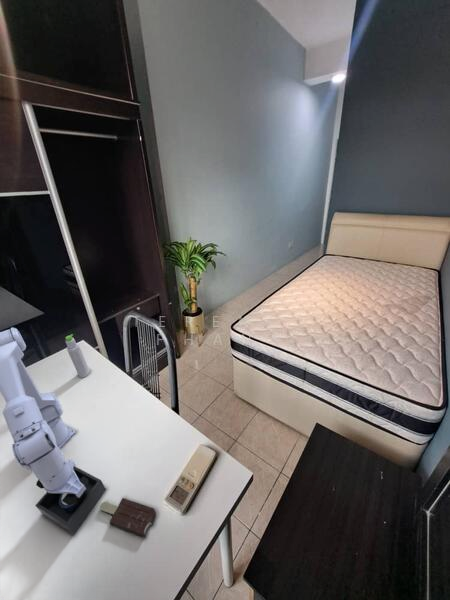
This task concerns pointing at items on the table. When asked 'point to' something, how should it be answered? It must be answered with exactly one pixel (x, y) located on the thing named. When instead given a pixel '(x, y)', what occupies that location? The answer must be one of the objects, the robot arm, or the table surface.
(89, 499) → the tub
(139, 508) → the ice cream bar
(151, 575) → the table surface
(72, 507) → the rice dish
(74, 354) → the bottle
